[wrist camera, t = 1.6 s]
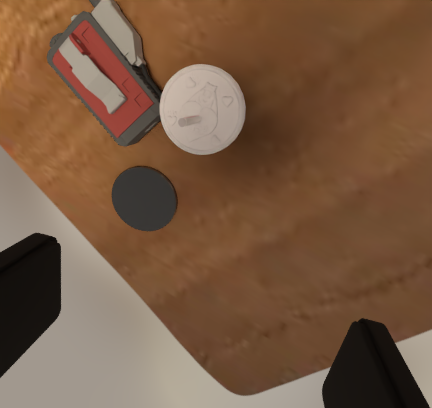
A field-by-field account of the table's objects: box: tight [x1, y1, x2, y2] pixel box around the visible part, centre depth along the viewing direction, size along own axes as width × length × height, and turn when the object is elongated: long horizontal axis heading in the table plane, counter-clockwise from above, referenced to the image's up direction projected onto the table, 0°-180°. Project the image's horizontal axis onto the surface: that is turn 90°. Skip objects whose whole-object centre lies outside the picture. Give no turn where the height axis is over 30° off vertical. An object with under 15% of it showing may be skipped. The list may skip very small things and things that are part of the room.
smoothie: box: [160, 64, 246, 155], centre depth 23 cm, size 6×6×14 cm
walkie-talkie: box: [47, 0, 162, 146], centre depth 28 cm, size 9×4×20 cm
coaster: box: [112, 166, 177, 231], centre depth 34 cm, size 8×8×1 cm
